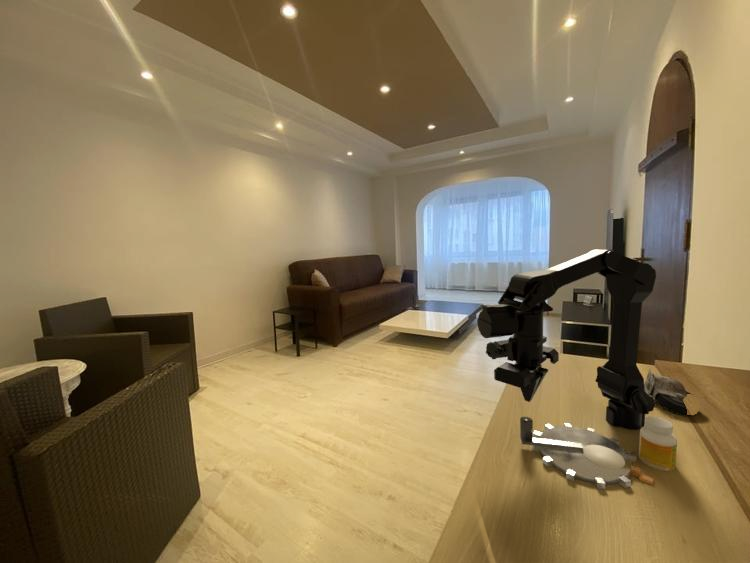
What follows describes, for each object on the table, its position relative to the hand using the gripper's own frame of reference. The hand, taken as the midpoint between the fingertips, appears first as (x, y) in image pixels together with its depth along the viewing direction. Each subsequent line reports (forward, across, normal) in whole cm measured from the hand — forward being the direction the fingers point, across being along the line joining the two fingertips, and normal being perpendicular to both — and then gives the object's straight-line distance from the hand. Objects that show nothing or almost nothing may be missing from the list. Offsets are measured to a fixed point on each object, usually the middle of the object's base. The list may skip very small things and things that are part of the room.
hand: (527, 400), depth 69 cm
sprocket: (+10, -3, +9) cm, 13 cm away
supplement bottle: (+11, -11, +20) cm, 26 cm away
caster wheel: (+11, -42, +19) cm, 48 cm away
